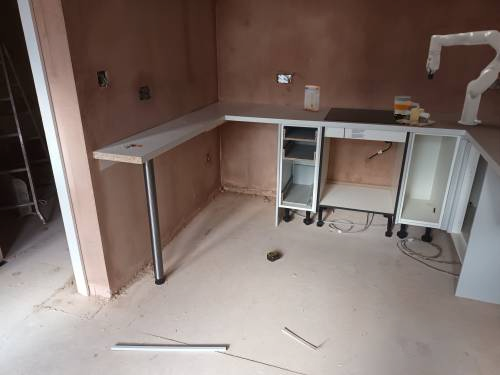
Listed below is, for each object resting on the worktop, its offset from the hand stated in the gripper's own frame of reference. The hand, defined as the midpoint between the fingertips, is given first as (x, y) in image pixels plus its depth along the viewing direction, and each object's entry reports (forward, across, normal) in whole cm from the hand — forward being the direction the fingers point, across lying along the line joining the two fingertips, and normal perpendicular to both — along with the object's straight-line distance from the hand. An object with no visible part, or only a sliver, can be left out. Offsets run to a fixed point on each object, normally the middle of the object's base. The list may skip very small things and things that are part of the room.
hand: (430, 79), depth 282 cm
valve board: (+31, -12, -1) cm, 33 cm away
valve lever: (+20, -12, +3) cm, 24 cm away
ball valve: (+30, -12, -1) cm, 32 cm away
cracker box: (+31, -37, +85) cm, 98 cm away
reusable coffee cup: (+31, +6, +24) cm, 40 cm away
